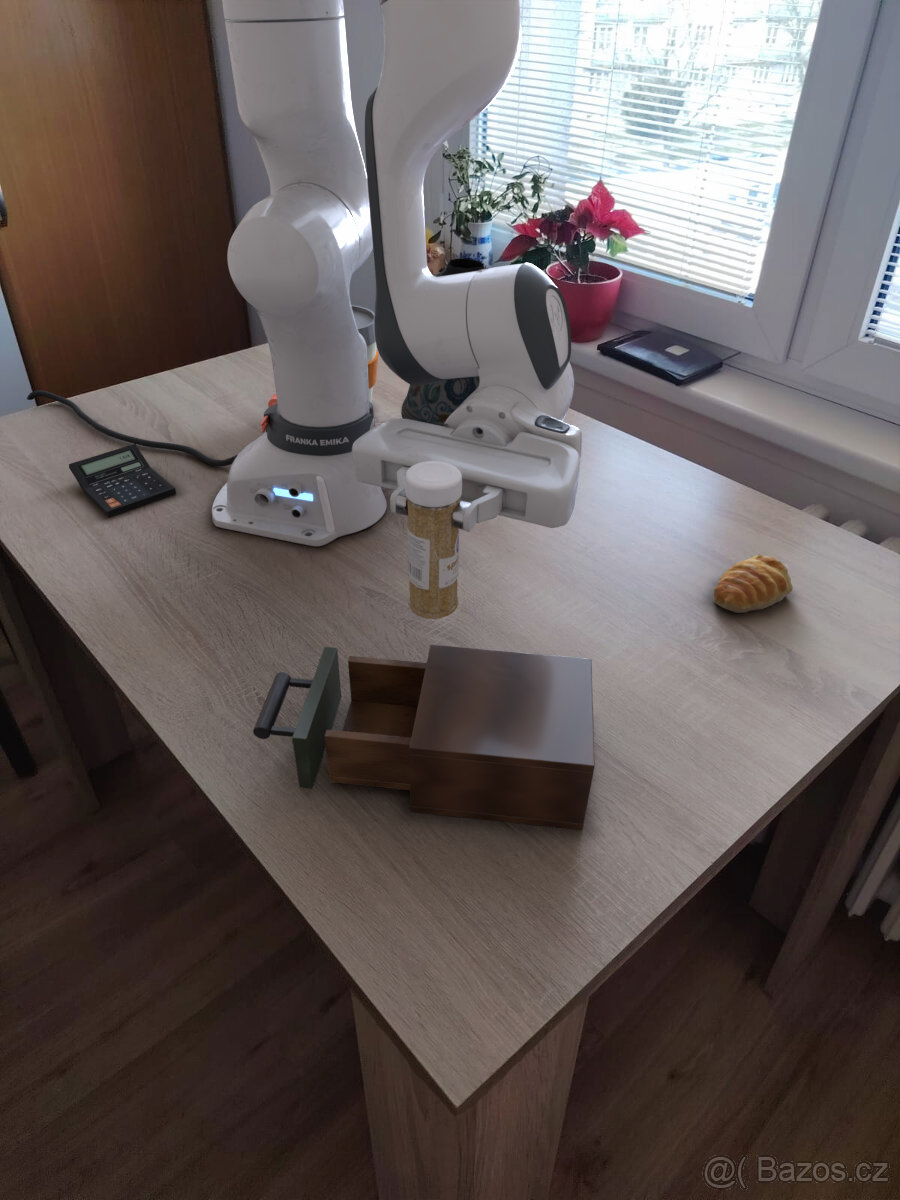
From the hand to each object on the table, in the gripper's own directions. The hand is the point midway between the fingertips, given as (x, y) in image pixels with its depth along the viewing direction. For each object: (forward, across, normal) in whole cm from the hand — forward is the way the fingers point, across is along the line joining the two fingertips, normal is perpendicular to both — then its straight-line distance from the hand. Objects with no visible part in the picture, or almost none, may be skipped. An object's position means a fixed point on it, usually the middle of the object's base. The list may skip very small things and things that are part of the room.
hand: (429, 514), depth 67 cm
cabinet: (+4, +9, +22) cm, 24 cm away
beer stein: (-56, -19, +22) cm, 64 cm away
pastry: (-31, +27, +22) cm, 47 cm away
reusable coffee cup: (-54, -40, +22) cm, 71 cm away
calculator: (-21, -55, +22) cm, 63 cm away
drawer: (+8, -3, +21) cm, 23 cm away
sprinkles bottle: (-1, 0, +10) cm, 10 cm away
